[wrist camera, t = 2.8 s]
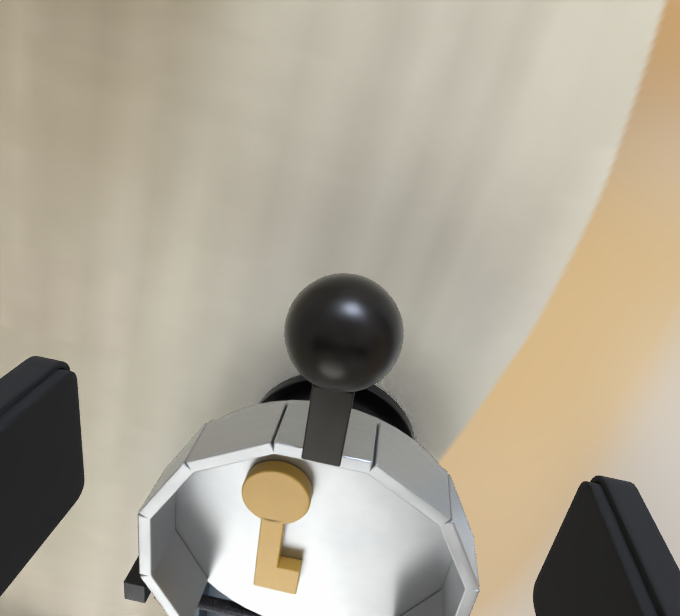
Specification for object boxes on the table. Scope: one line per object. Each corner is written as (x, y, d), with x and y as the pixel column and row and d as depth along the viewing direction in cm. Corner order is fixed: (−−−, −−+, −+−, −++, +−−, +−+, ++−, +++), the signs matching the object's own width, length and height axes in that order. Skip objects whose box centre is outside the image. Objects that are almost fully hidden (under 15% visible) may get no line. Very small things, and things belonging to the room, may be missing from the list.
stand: (166, 337, 24) (102, 406, 19) (530, 411, 23) (559, 503, 18) (165, 511, 29) (114, 602, 24) (466, 578, 28) (476, 686, 23)
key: (248, 453, 19) (243, 464, 19) (318, 468, 19) (315, 479, 19) (237, 568, 22) (232, 581, 22) (298, 582, 22) (295, 595, 21)
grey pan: (159, 205, 16) (76, 251, 12) (577, 284, 16) (631, 360, 12) (159, 589, 24) (108, 692, 20) (437, 653, 24) (440, 773, 20)
